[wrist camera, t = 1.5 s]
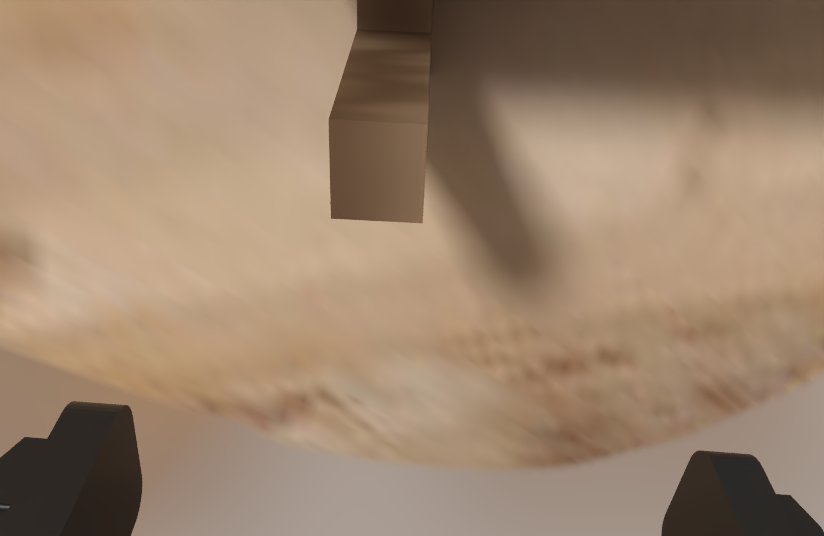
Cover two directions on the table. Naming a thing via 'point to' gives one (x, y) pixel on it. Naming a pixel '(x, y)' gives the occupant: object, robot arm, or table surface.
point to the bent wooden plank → (383, 115)
